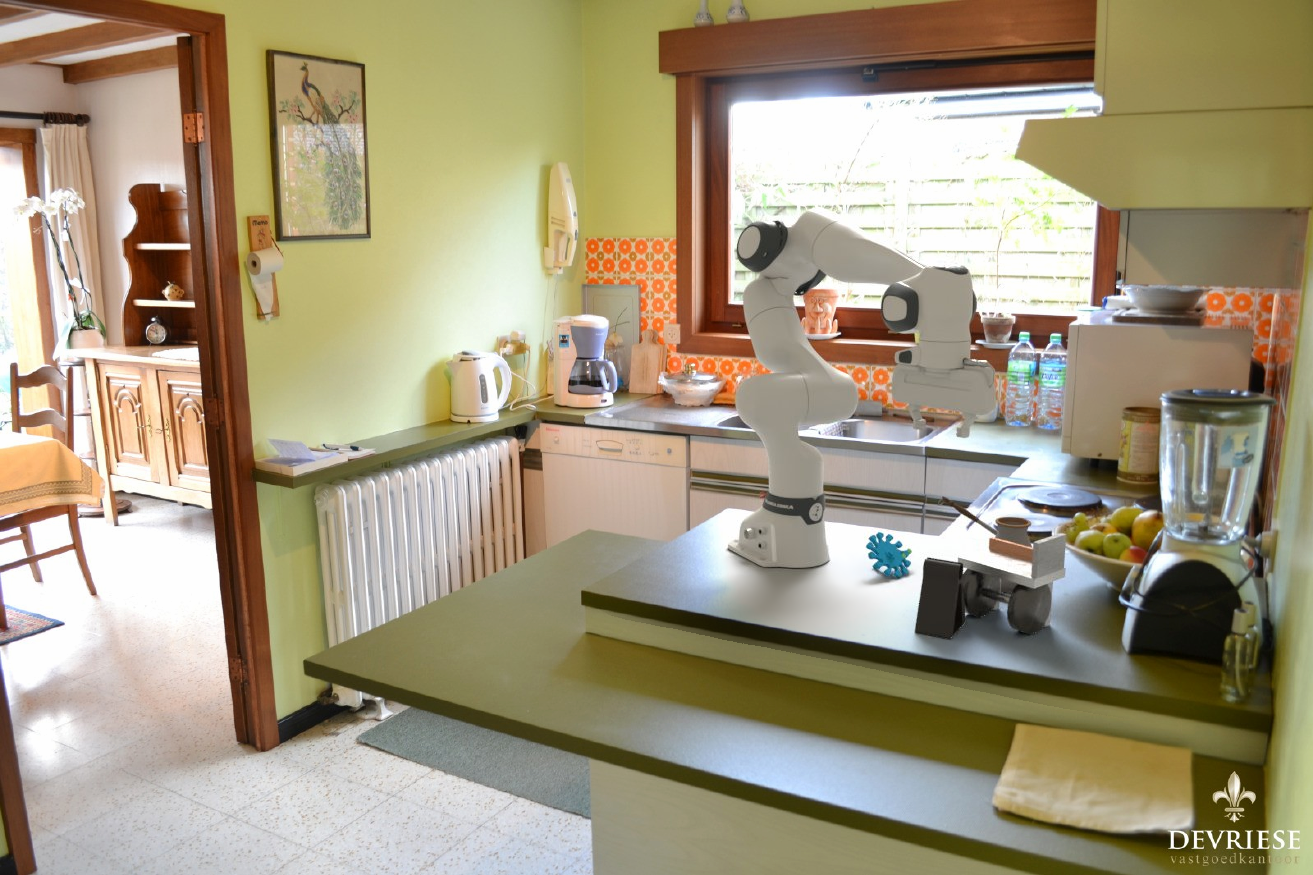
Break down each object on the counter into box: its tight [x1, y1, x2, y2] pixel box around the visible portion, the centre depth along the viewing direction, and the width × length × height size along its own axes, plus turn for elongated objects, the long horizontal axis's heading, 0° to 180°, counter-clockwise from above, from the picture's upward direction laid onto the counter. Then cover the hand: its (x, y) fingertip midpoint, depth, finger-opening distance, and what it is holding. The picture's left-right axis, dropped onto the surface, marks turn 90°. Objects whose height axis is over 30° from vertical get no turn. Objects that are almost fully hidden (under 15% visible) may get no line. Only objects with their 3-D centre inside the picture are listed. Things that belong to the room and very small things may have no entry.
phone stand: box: [914, 556, 967, 640], centre depth 173 cm, size 9×6×12 cm, turn 146°
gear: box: [865, 531, 913, 579], centre depth 203 cm, size 11×6×10 cm
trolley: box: [957, 532, 1067, 635], centre depth 175 cm, size 15×10×17 cm
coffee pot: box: [937, 496, 1033, 594], centre depth 196 cm, size 21×12×15 cm, turn 44°
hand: (940, 433), depth 182 cm, fingers open, 8 cm apart
